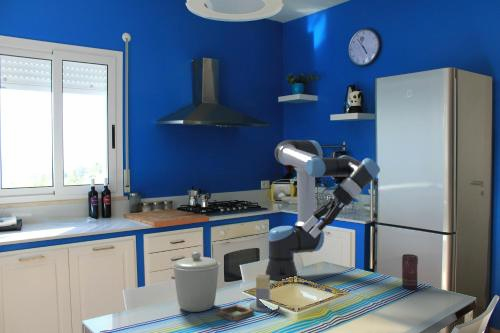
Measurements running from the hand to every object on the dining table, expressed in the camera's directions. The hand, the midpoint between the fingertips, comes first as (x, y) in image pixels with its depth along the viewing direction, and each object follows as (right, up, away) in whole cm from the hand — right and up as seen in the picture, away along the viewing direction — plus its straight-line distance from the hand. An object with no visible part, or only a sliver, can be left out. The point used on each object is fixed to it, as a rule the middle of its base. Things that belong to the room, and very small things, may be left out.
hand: (307, 232), depth 166 cm
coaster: (-16, -28, -1) cm, 32 cm away
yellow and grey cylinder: (-17, -27, -1) cm, 32 cm away
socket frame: (-27, -28, -9) cm, 40 cm away
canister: (-42, -28, -1) cm, 51 cm away
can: (+47, -27, +21) cm, 58 cm away
